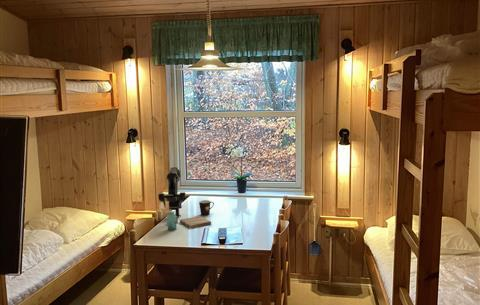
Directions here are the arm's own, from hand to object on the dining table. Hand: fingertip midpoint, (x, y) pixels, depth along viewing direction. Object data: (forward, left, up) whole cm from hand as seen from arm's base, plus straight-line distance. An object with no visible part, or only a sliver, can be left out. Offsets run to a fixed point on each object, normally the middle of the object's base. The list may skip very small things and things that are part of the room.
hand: (171, 206), depth 312 cm
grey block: (-7, +3, -14) cm, 16 cm away
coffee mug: (-14, +33, -14) cm, 38 cm away
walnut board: (+3, +16, -14) cm, 21 cm away
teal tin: (+7, -3, -14) cm, 16 cm away
